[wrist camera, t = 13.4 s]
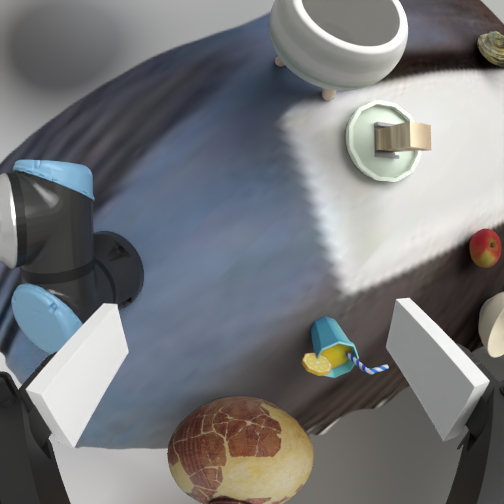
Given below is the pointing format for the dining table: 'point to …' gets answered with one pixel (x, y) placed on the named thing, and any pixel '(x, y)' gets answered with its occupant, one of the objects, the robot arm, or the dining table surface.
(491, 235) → the apple
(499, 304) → the bowl
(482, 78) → the dining table surface
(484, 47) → the seashell
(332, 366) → the cup
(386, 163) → the dish
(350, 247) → the dining table surface
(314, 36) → the planter
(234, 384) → the dining table surface
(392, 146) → the tan wooden block
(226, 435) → the vase
